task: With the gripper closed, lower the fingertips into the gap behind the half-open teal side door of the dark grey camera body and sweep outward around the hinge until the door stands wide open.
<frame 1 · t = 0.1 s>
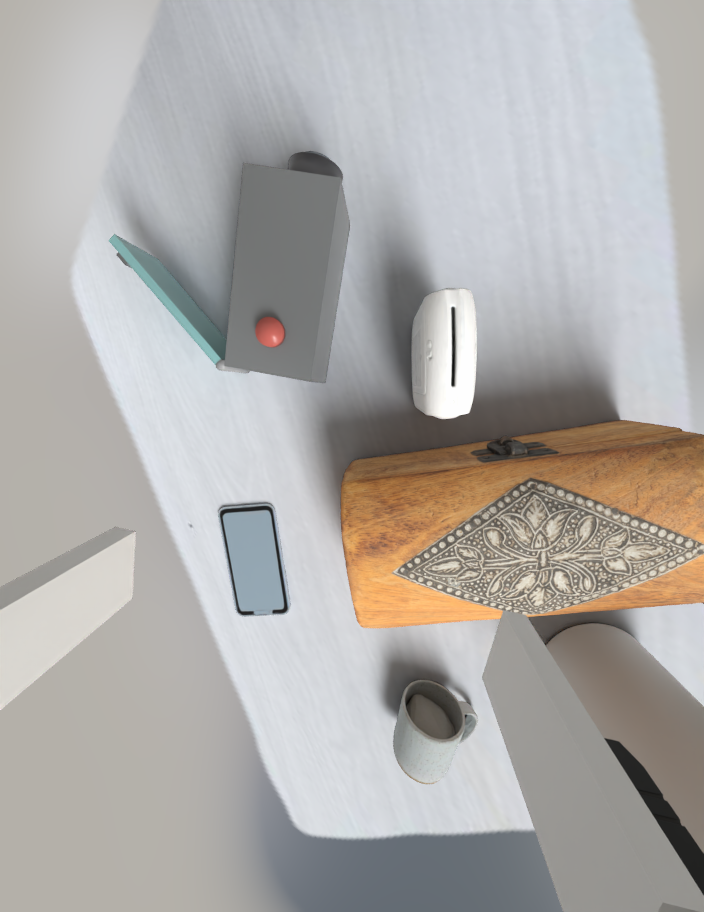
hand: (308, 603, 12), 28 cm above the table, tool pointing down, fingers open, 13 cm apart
smartphone: (257, 558, 44), on the table
ceramic mug: (432, 702, 45), on the table
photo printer: (430, 363, 37), on the table
side door: (183, 314, 34), point 4 cm above the table, hinge at 50.0°
cylinder vase: (587, 662, 42), on the table
wooden box: (484, 497, 39), on the table
camera body: (300, 301, 36), on the table
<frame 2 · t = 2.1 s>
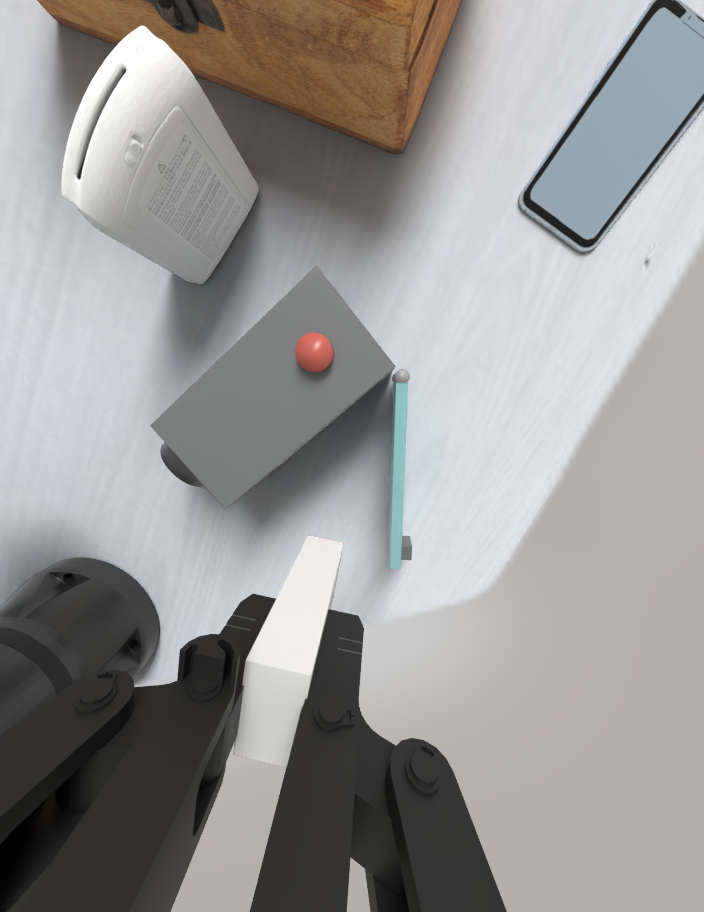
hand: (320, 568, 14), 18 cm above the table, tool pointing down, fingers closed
smartphone: (613, 141, 26), on the table
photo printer: (216, 227, 29), on the table
side door: (402, 467, 27), point 4 cm above the table, hinge at 50.0°
camera body: (295, 395, 31), on the table
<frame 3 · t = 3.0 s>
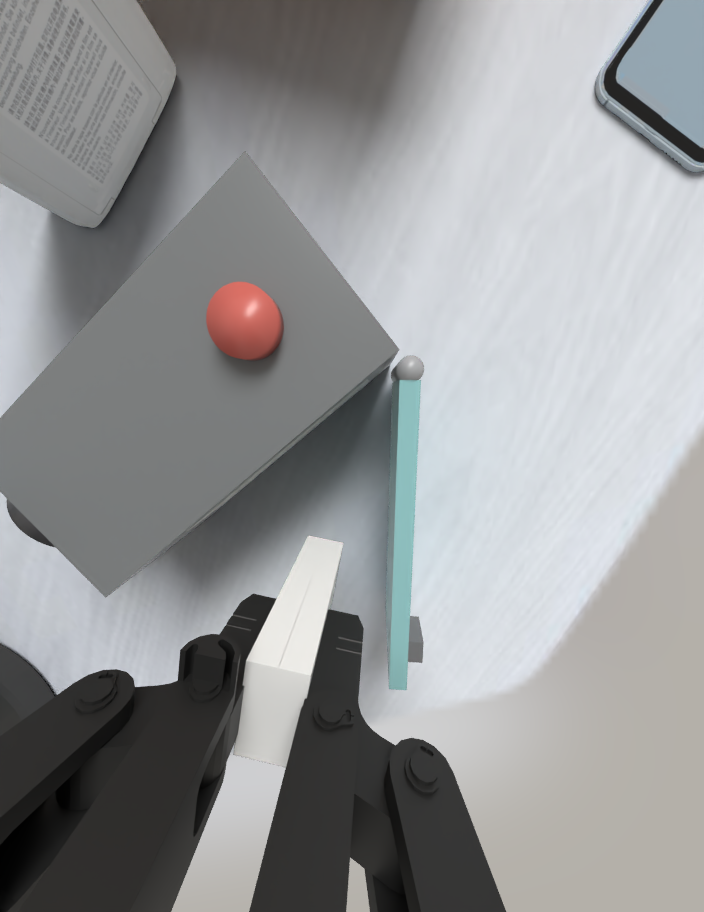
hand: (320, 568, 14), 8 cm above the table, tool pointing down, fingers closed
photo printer: (115, 138, 18), on the table
side door: (407, 516, 17), point 4 cm above the table, hinge at 50.0°
camera body: (245, 399, 21), on the table
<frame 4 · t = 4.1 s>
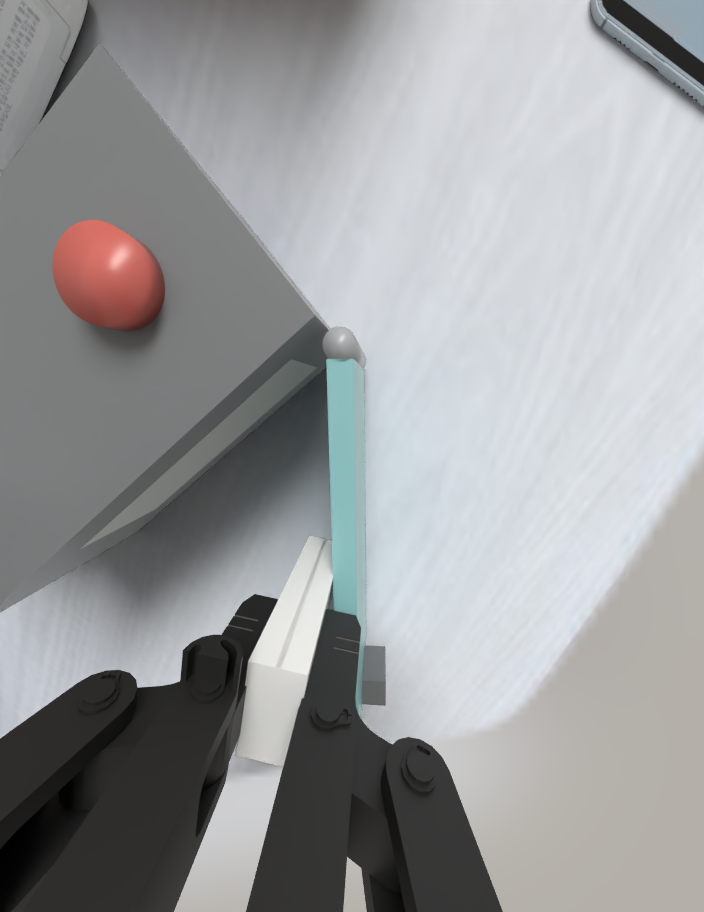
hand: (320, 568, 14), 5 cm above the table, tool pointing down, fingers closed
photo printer: (25, 82, 16), on the table
side door: (362, 530, 14), point 4 cm above the table, hinge at 51.7°, touching gripper
camera body: (182, 390, 18), on the table
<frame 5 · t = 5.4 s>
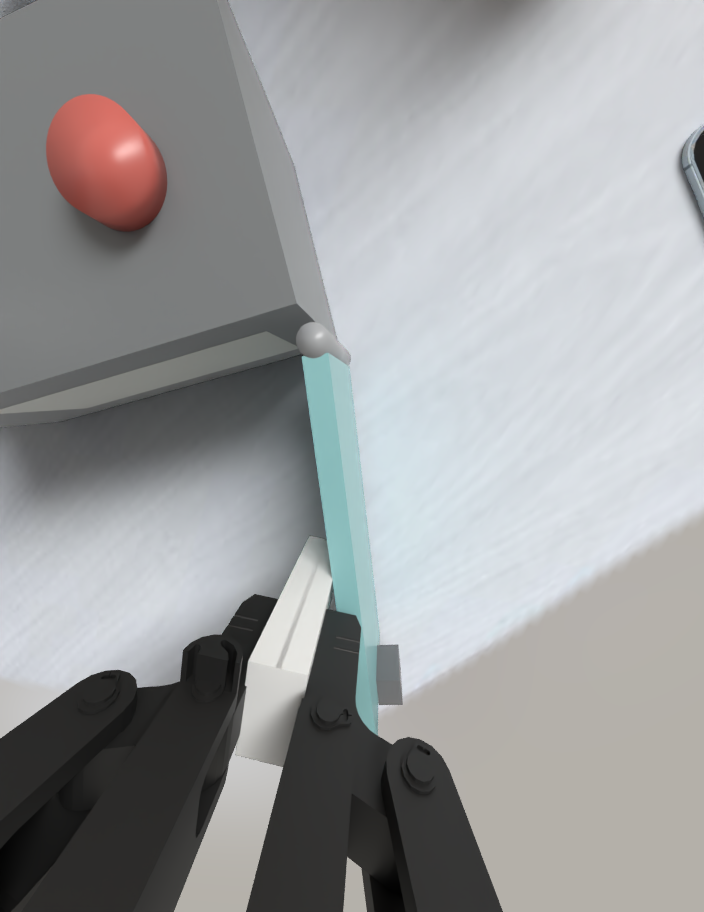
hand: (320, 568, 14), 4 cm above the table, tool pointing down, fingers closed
side door: (362, 527, 14), point 4 cm above the table, hinge at 82.5°, touching gripper
camera body: (165, 306, 17), on the table
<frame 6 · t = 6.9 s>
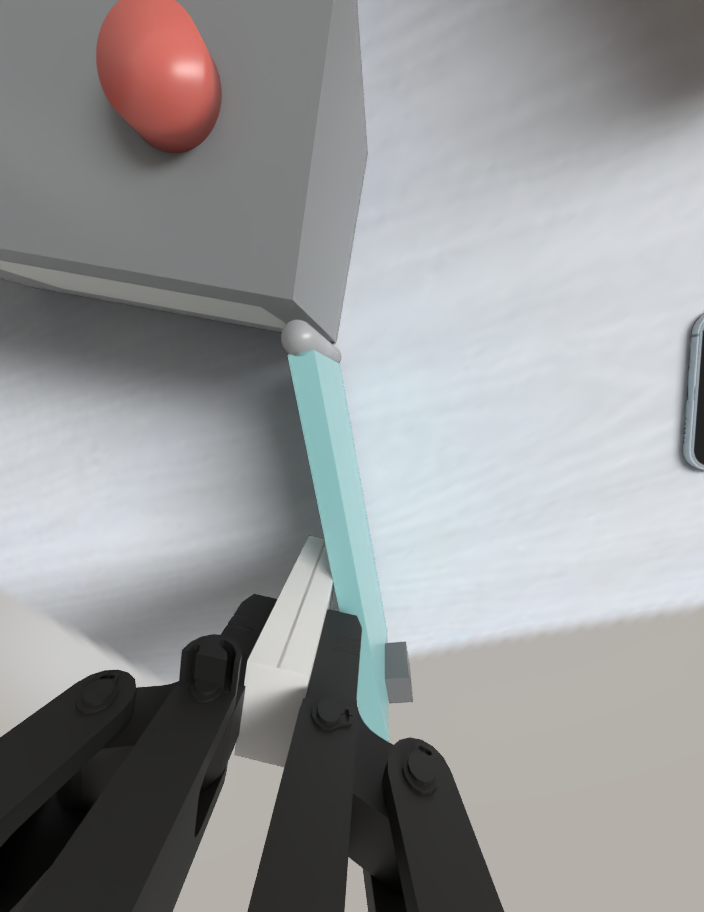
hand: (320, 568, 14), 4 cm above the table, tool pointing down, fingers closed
side door: (361, 525, 14), point 4 cm above the table, hinge at 110.5°, touching gripper
camera body: (185, 225, 16), on the table
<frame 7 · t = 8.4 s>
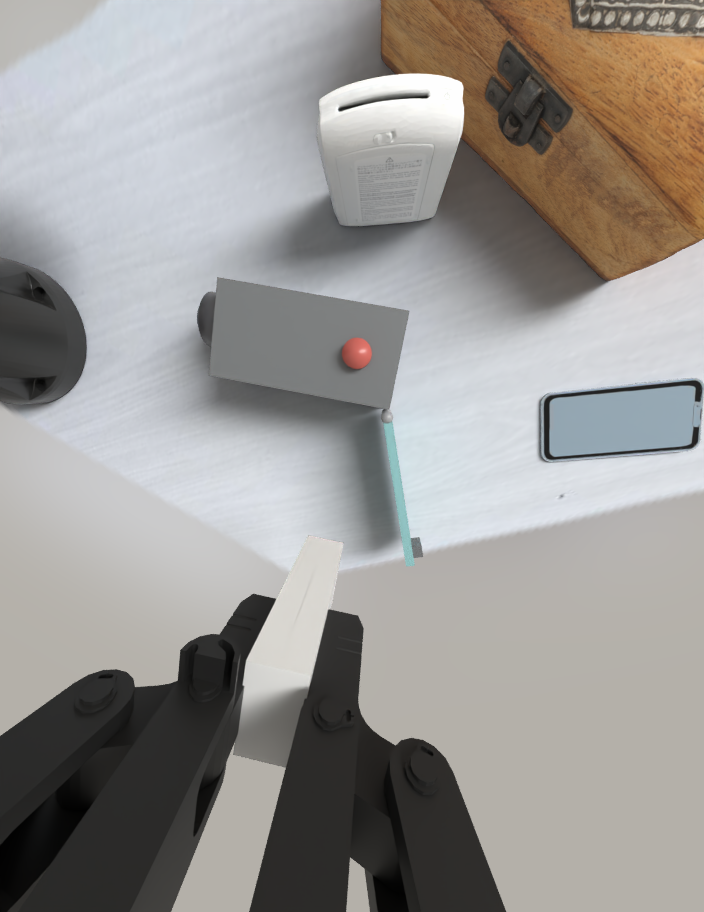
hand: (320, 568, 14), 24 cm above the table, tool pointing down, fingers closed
smartphone: (613, 420, 35), on the table
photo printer: (386, 204, 33), on the table
side door: (402, 484, 34), point 4 cm above the table, hinge at 110.5°
wooden box: (552, 110, 30), on the table
camera body: (321, 353, 36), on the table
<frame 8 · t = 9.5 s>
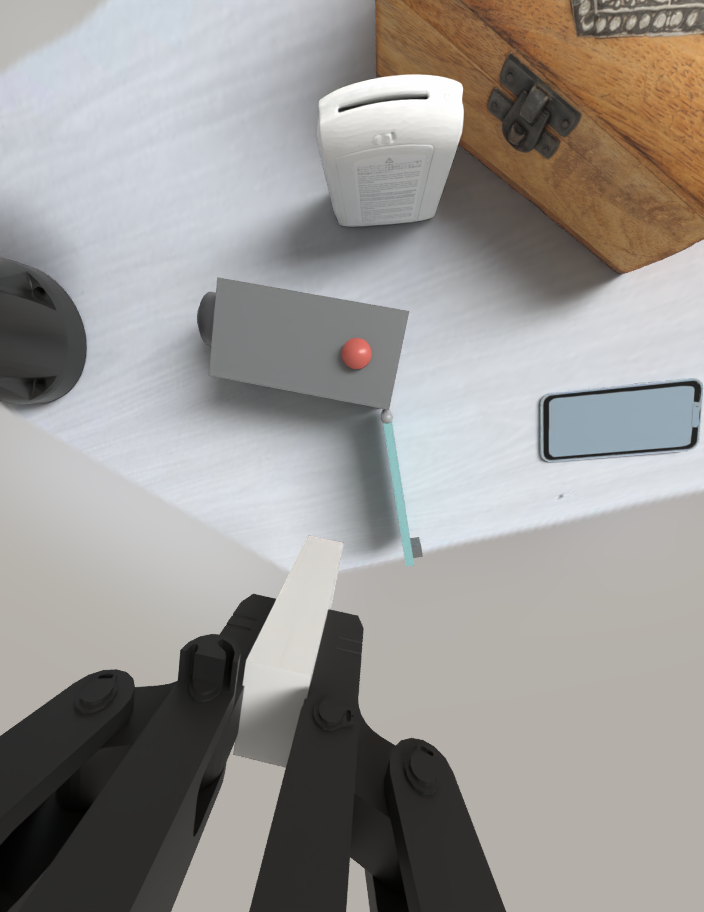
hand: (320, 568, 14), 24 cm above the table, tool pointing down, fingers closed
smartphone: (612, 421, 35), on the table
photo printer: (386, 204, 33), on the table
side door: (401, 484, 34), point 4 cm above the table, hinge at 110.5°
wooden box: (551, 111, 31), on the table
camera body: (321, 354, 36), on the table
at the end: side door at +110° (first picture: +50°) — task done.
